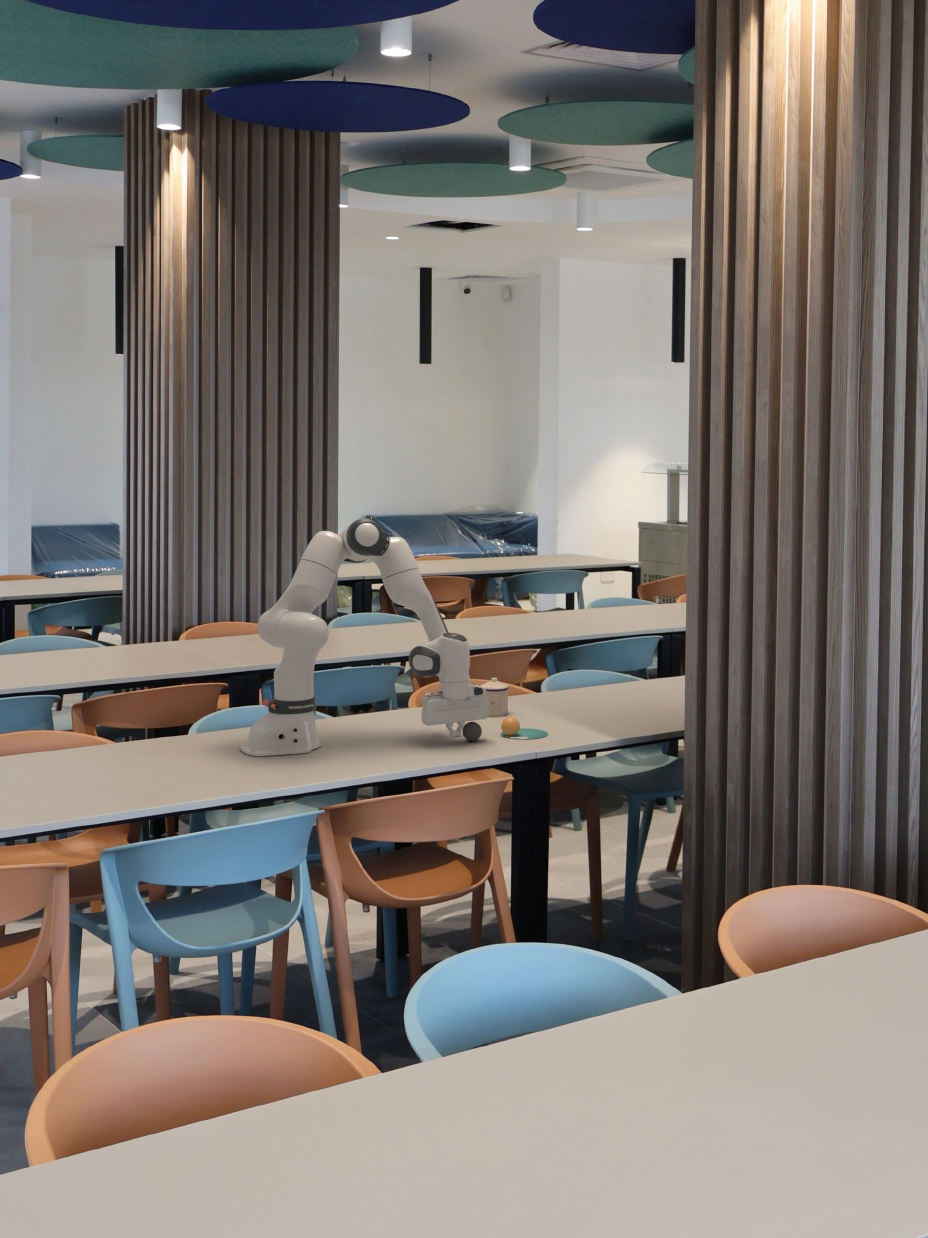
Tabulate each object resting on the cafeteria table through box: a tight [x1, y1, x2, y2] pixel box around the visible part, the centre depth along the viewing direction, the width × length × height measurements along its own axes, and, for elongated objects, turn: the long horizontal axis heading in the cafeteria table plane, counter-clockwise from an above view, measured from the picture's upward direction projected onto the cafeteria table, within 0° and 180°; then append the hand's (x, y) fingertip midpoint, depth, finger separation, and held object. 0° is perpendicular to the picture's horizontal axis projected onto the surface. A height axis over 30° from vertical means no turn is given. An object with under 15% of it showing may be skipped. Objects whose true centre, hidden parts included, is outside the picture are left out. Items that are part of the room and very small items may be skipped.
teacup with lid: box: [480, 677, 509, 718], centre depth 404 cm, size 12×9×12 cm
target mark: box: [500, 727, 549, 740], centre depth 376 cm, size 14×14×1 cm
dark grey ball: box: [461, 721, 483, 742], centre depth 368 cm, size 6×6×6 cm
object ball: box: [500, 716, 521, 736], centre depth 374 cm, size 6×6×6 cm
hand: (455, 737), depth 366 cm, fingers closed
